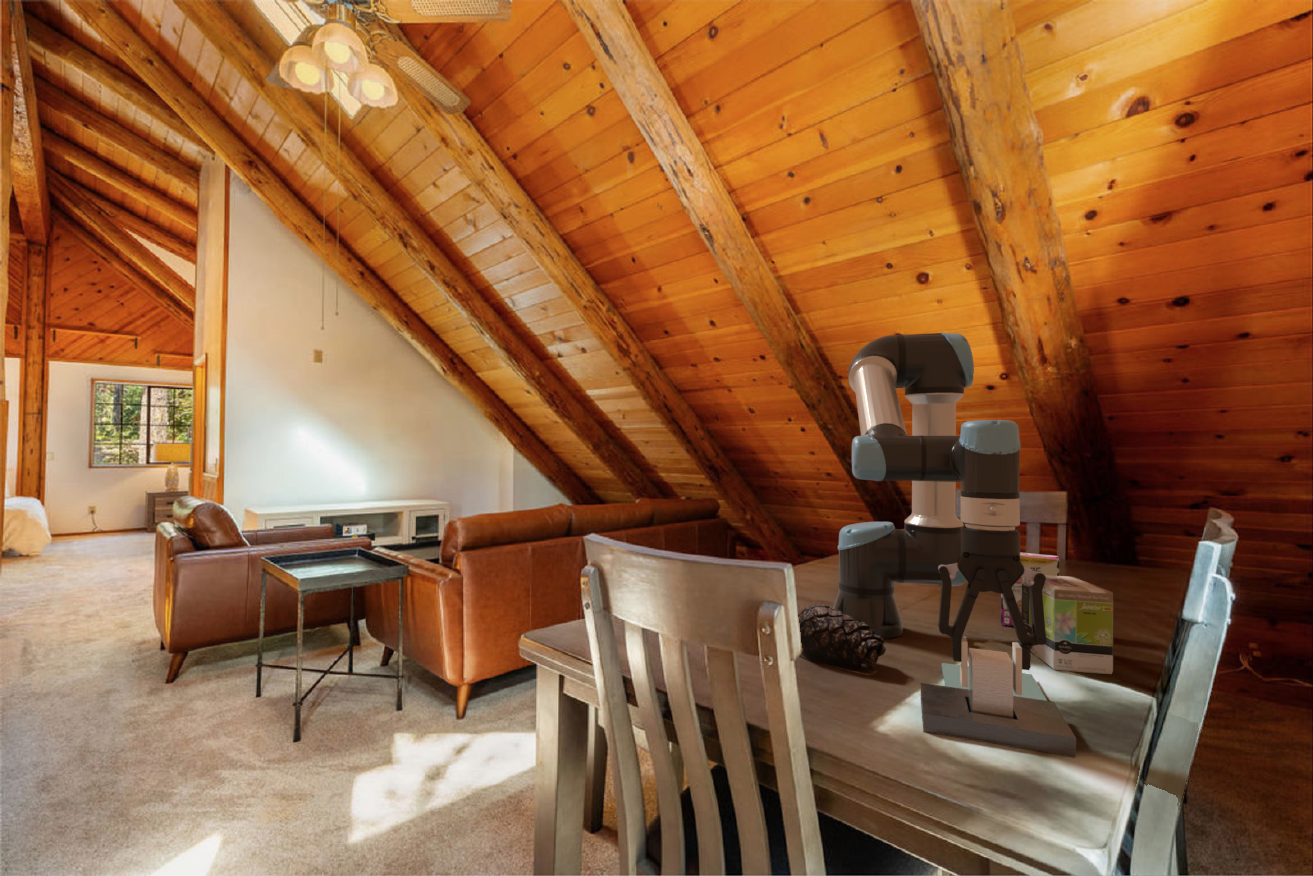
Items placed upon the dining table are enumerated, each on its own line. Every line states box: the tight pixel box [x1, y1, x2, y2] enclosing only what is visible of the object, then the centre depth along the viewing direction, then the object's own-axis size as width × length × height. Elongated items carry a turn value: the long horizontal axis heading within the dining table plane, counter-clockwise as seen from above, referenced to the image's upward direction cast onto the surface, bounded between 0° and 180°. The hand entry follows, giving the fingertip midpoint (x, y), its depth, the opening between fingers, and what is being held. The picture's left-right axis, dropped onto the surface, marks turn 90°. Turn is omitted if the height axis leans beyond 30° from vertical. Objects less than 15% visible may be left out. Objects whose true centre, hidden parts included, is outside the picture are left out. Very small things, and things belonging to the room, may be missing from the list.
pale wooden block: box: [968, 647, 1013, 719], centre depth 86 cm, size 5×5×10 cm
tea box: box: [1022, 575, 1114, 675], centre depth 114 cm, size 15×10×15 cm, turn 168°
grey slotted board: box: [920, 682, 1077, 758], centre depth 86 cm, size 18×12×2 cm, turn 68°
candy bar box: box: [1000, 551, 1060, 628], centre depth 134 cm, size 11×5×16 cm, turn 58°
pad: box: [941, 662, 1048, 701], centre depth 100 cm, size 14×12×1 cm
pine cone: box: [797, 603, 887, 676], centre depth 112 cm, size 10×18×10 cm, turn 52°
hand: (990, 687), depth 86 cm, fingers open, 6 cm apart
